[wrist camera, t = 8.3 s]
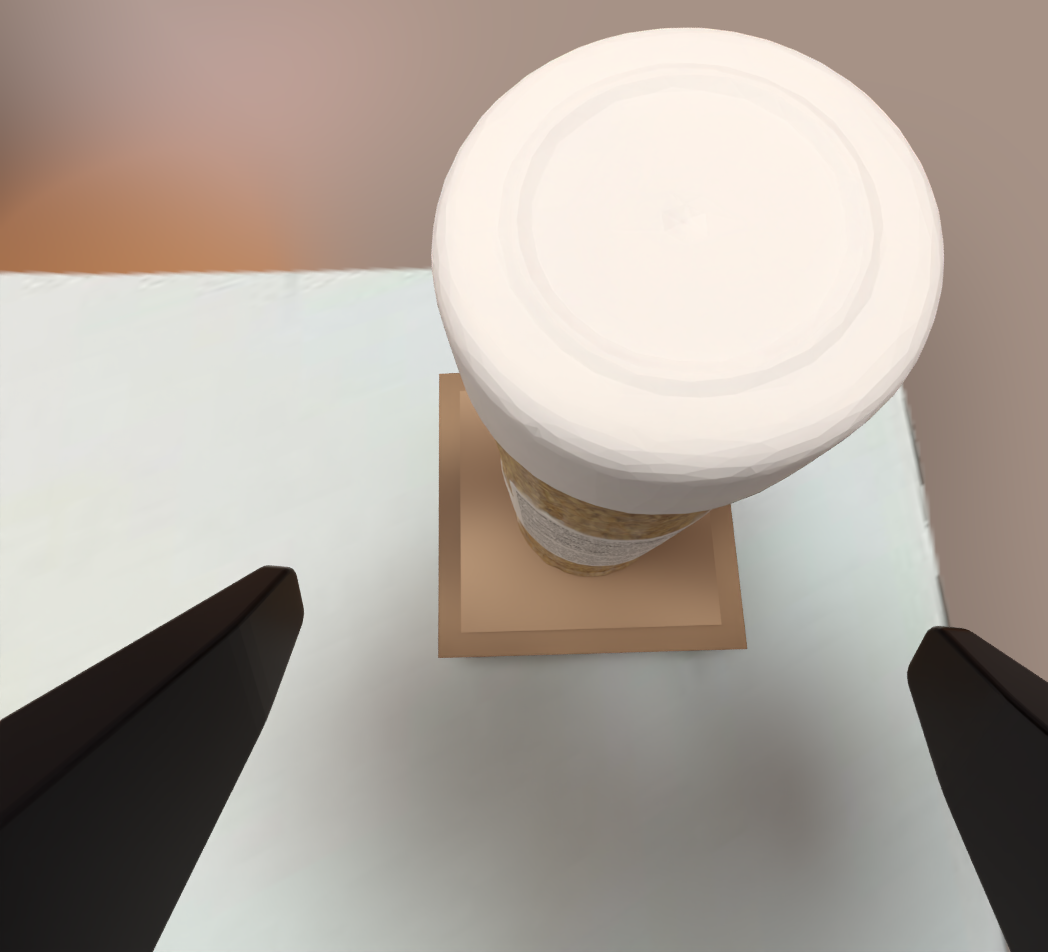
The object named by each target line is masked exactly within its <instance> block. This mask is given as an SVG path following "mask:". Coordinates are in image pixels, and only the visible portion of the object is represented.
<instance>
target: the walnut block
mask: <svg viewBox="0 0 1048 952" xmlns="http://www.w3.org/2000/svg"><path fill="white" fill-rule="evenodd" d="M726 649H747V642H746V634H745V625H744V617H743V608H742V599H741V591H740V582H739V573H738V565H737V556H736V547H735V539H734V530H733V521H732V513H731V504H728V505H726V506H722V507H718V508H714V509H712V510H711V511H709V512H708V513H707V514H706V515H704V516H703V517H702V518H701V519H699V520H698V521H696V522H695V523H693V524H692V525H690V526H688V527H687V528H685V529H684V530H682V531H681V532H679V533H677V534H676V535H674V536H673V537H671V538H670V539H668V540H666V541H665V542H663V543H662V544H660V545H658V546H657V547H655V548H653V549H652V550H650V551H648V552H647V553H645V554H643V555H642V556H641V557H640V558H639V559H638V560H637V561H635V562H634V563H632V564H630V565H629V566H627V567H626V568H624V569H622V570H619V571H616V572H612V573H610V574H607V575H604V576H578V575H573V574H569V573H566V572H563V571H562V570H560V569H558V568H556V567H553V566H551V565H549V564H547V563H546V562H544V561H543V560H542V559H541V557H540V556H539V555H538V554H537V553H536V552H535V551H534V550H533V549H532V548H531V547H530V546H529V544H528V543H527V542H526V540H525V538H524V536H523V534H522V533H521V531H520V528H519V525H518V521H517V518H516V516H515V509H514V507H513V504H512V501H511V498H510V494H509V491H508V489H507V486H506V483H505V479H504V476H503V472H502V466H501V456H500V452H499V449H498V447H497V444H496V442H495V439H494V438H493V436H492V435H491V433H490V432H489V430H488V429H487V428H486V426H485V425H484V423H483V422H482V420H481V419H480V417H479V415H478V414H477V412H476V410H475V408H474V407H473V405H472V403H471V400H470V398H469V396H468V394H467V392H466V389H465V386H464V384H463V381H462V378H461V375H460V373H449V374H439V623H438V658H453V657H487V656H521V655H555V654H589V653H623V652H658V651H692V650H726Z"/></svg>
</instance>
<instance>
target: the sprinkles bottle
mask: <svg viewBox="0 0 1048 952" xmlns="http://www.w3.org/2000/svg"><path fill="white" fill-rule="evenodd" d="M431 257H432V274H433V281H434V288H435V293H436V299H437V305H438V308H439V312H440V315H441V318H442V322H443V325H444V328H445V331H446V335H447V338H448V341H449V344H450V347H451V350H452V353H453V356H454V358H455V361H456V364H457V367H458V370H459V373H460V375H461V378H462V381H463V384H464V386H465V389H466V392H467V394H468V396H469V398H470V400H471V403H472V405H473V407H474V408H475V410H476V412H477V414H478V415H479V417H480V419H481V420H482V422H483V423H484V425H485V426H486V428H487V429H488V430H489V432H490V433H491V435H492V436H493V438H494V439H495V442H496V444H497V447H498V449H499V452H500V456H501V466H502V472H503V476H504V479H505V483H506V486H507V489H508V491H509V494H510V498H511V501H512V504H513V507H514V509H515V516H516V518H517V521H518V525H519V528H520V531H521V533H522V534H523V536H524V538H525V540H526V542H527V543H528V544H529V546H530V547H531V548H532V549H533V550H534V551H535V552H536V553H537V554H538V555H539V556H540V557H541V559H542V560H543V561H544V562H546V563H547V564H549V565H551V566H553V567H556V568H558V569H560V570H562V571H563V572H566V573H569V574H573V575H578V576H604V575H607V574H610V573H612V572H616V571H619V570H622V569H624V568H626V567H627V566H629V565H630V564H632V563H634V562H635V561H637V560H638V559H639V558H640V557H641V556H642V555H643V554H645V553H647V552H648V551H650V550H652V549H653V548H655V547H657V546H658V545H660V544H662V543H663V542H665V541H666V540H668V539H670V538H671V537H673V536H674V535H676V534H677V533H679V532H681V531H682V530H684V529H685V528H687V527H688V526H690V525H692V524H693V523H695V522H696V521H698V520H699V519H701V518H702V517H703V516H704V515H706V514H707V513H708V512H709V511H711V510H712V509H714V508H718V507H722V506H726V505H728V504H731V503H734V502H736V501H739V500H741V499H744V498H747V497H749V496H752V495H754V494H757V493H759V492H761V491H763V490H765V489H767V488H768V487H770V486H772V485H774V484H776V483H778V482H779V481H781V480H783V479H785V478H787V477H788V476H790V475H791V474H793V473H795V472H796V471H798V470H799V469H801V468H803V467H804V466H806V465H807V464H809V463H810V462H812V461H813V460H815V459H816V458H818V457H819V456H821V455H822V454H824V453H825V452H827V451H828V450H830V449H831V448H833V447H834V446H836V445H837V444H839V443H840V442H842V441H843V440H844V439H846V438H847V437H848V436H849V435H851V434H852V433H853V432H855V431H856V430H857V429H858V428H860V427H861V426H862V425H863V424H865V423H866V422H867V421H868V420H869V419H870V418H871V417H872V416H873V415H874V414H875V413H876V412H877V411H878V410H879V409H880V408H881V407H882V406H883V405H884V404H885V403H886V402H887V401H888V400H889V399H890V398H891V397H892V396H893V395H894V394H895V393H896V391H897V390H898V389H899V387H900V386H901V385H902V383H903V382H904V380H905V379H906V377H907V376H908V374H909V373H910V371H911V370H912V368H913V366H914V365H915V363H916V362H917V360H918V358H919V356H920V354H921V351H922V349H923V347H924V345H925V343H926V340H927V338H928V335H929V333H930V330H931V327H932V325H933V322H934V320H935V316H936V312H937V308H938V304H939V299H940V295H941V290H942V283H943V270H944V249H943V236H942V229H941V223H940V216H939V210H938V207H937V204H936V201H935V198H934V195H933V192H932V189H931V186H930V183H929V181H928V178H927V176H926V174H925V171H924V169H923V167H922V164H921V162H920V161H919V159H918V158H917V156H916V154H915V153H914V151H913V150H912V148H911V147H910V145H909V143H908V142H907V140H906V139H905V137H904V136H903V134H902V132H901V131H900V130H899V128H898V127H897V126H896V125H895V124H894V123H893V122H892V121H891V119H890V118H889V117H888V116H887V115H886V114H885V112H884V111H883V110H882V109H881V108H880V107H879V106H878V105H877V104H876V103H875V102H874V101H873V100H872V99H871V98H870V97H869V96H868V95H867V94H866V93H864V92H863V91H862V90H860V89H859V88H858V87H857V86H855V85H854V84H853V83H851V82H850V81H849V80H847V79H846V78H844V77H843V76H841V75H839V74H838V73H836V72H835V71H833V70H832V69H830V68H829V67H827V66H825V65H824V64H822V63H820V62H818V61H816V60H814V59H812V58H810V57H808V56H806V55H804V54H802V53H800V52H798V51H796V50H793V49H790V48H788V47H785V46H782V45H779V44H777V43H775V42H772V41H769V40H766V39H762V38H757V37H753V36H750V35H745V34H741V33H737V32H731V31H722V30H715V29H707V28H663V29H654V30H646V31H640V32H632V33H625V34H621V35H618V36H614V37H610V38H606V39H602V40H599V41H596V42H593V43H591V44H588V45H585V46H582V47H579V48H577V49H575V50H573V51H571V52H568V53H566V54H564V55H562V56H560V57H558V58H556V59H554V60H552V61H550V62H548V63H547V64H545V65H543V66H542V67H540V68H539V69H537V70H535V71H534V72H532V73H531V74H529V75H527V76H526V77H525V78H523V79H522V80H521V81H520V82H519V83H517V84H516V85H515V86H514V87H512V88H511V89H510V90H509V91H507V92H506V93H505V94H504V95H503V96H501V97H500V98H499V99H498V100H497V101H496V102H495V103H494V104H493V105H492V106H491V107H490V108H489V109H488V111H486V113H485V114H484V115H483V116H482V117H481V118H480V120H479V121H478V123H477V124H476V126H475V127H474V128H473V130H472V131H471V133H470V134H469V136H468V137H467V138H466V140H465V141H464V143H463V144H462V146H461V148H460V149H459V151H458V153H457V155H456V157H455V159H454V162H453V164H452V166H451V168H450V170H449V172H448V174H447V177H446V178H445V182H444V185H443V189H442V191H441V195H440V198H439V201H438V205H437V210H436V216H435V220H434V226H433V238H432V252H431Z"/></svg>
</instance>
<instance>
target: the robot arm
mask: <svg viewBox="0 0 1048 952" xmlns="http://www.w3.org/2000/svg"><path fill="white" fill-rule="evenodd" d="M303 617H304V608H303V603H302V598H301V593H300V589H299V584H298V579H297V575H296V572H295V571H294V570H293V569H292V568H290V567H283V566H272V565H268V566H263V567H261V568H259V569H257V570H256V571H254V572H252V573H250V574H249V575H247V576H245V577H244V578H242V579H240V580H238V581H237V582H235V583H233V584H232V585H230V586H228V587H227V588H225V589H223V590H221V591H220V592H218V593H216V594H215V595H213V596H211V597H209V598H208V599H206V600H204V601H203V602H201V603H199V604H198V605H196V606H194V607H192V608H191V609H189V610H187V611H186V612H184V613H182V614H181V615H179V616H177V617H175V618H174V619H172V620H170V621H169V622H167V623H165V624H163V625H162V626H160V627H158V628H157V629H155V630H153V631H152V632H150V633H148V634H146V635H145V636H143V637H141V638H140V639H138V640H136V641H134V642H133V643H131V644H129V645H128V646H126V647H124V648H123V649H121V650H119V651H117V652H116V653H114V654H112V655H111V656H109V657H107V658H105V659H104V660H102V661H100V662H99V663H97V664H95V665H94V666H92V667H90V668H88V669H87V670H85V671H83V672H82V673H80V674H78V675H76V676H75V677H73V678H71V679H70V680H68V681H66V682H64V683H63V684H61V685H59V686H58V687H56V688H54V689H53V690H51V691H49V692H47V693H46V694H44V695H42V696H41V697H39V698H37V699H35V700H34V701H32V702H30V703H29V704H27V705H25V706H23V707H22V708H20V709H18V710H17V711H15V712H13V713H12V714H10V715H8V716H6V717H5V718H3V719H2V720H0V952H153V950H154V948H155V946H156V944H157V942H158V940H159V938H160V936H161V934H162V932H163V930H164V928H165V926H166V924H167V922H168V920H169V918H170V916H171V914H172V912H173V910H174V908H175V906H176V904H177V902H178V900H179V898H180V896H181V894H182V892H183V889H184V887H185V885H186V883H187V881H188V879H189V877H190V875H191V873H192V871H193V869H194V867H195V865H196V863H197V861H198V859H199V857H200V855H201V853H202V851H203V849H204V847H205V845H206V843H207V841H208V839H209V837H210V835H211V833H212V831H213V829H214V827H215V825H216V823H217V820H218V818H219V816H220V814H221V812H222V810H223V808H224V806H225V804H226V802H227V800H228V798H229V796H230V794H231V792H232V790H233V788H234V786H235V784H236V782H237V780H238V778H239V776H240V774H241V772H242V770H243V768H244V766H245V764H246V762H247V760H248V758H249V756H250V754H251V752H252V749H253V747H254V745H255V743H256V741H257V739H258V737H259V735H260V733H261V731H262V729H263V727H264V724H265V722H266V720H267V718H268V715H269V713H270V710H271V708H272V705H273V702H274V700H275V697H276V694H277V692H278V689H279V686H280V683H281V681H282V678H283V675H284V672H285V670H286V667H287V664H288V662H289V659H290V656H291V653H292V651H293V648H294V645H295V642H296V640H297V637H298V634H299V631H300V629H301V626H302V623H303ZM907 679H908V685H909V688H910V692H911V695H912V698H913V701H914V704H915V707H916V711H917V714H918V717H919V720H920V723H921V727H922V730H923V733H924V736H925V739H926V742H927V746H928V749H929V752H930V755H931V758H932V762H933V765H934V768H935V771H936V774H937V777H938V780H939V783H940V786H941V789H942V791H943V794H944V797H945V799H946V802H947V804H948V807H949V809H950V812H951V814H952V816H953V819H954V821H955V823H956V826H957V828H958V830H959V833H960V835H961V837H962V840H963V842H964V844H965V847H966V849H967V851H968V854H969V856H970V858H971V861H972V863H973V865H974V868H975V870H976V872H977V875H978V877H979V879H980V882H981V884H982V886H983V889H984V891H985V893H986V896H987V898H988V900H989V902H990V905H991V907H992V909H993V912H994V914H995V916H996V919H997V921H998V923H999V926H1000V928H1001V930H1002V933H1003V935H1004V937H1005V940H1006V942H1007V944H1008V947H1009V949H1010V951H1011V952H1048V682H1046V681H1045V680H1043V679H1042V678H1040V677H1039V676H1037V675H1036V674H1034V673H1033V672H1031V671H1030V670H1028V669H1027V668H1025V667H1024V666H1022V665H1021V664H1019V663H1018V662H1016V661H1015V660H1013V659H1012V658H1010V657H1009V656H1007V655H1006V654H1004V653H1003V652H1001V651H999V650H998V649H997V648H995V647H994V646H992V645H991V644H989V643H988V642H986V641H985V640H983V639H982V638H980V637H979V636H977V635H976V634H974V633H973V632H971V631H969V630H967V629H962V628H955V627H944V626H935V627H932V628H931V629H929V630H928V631H927V633H926V634H925V636H924V638H923V640H922V642H921V644H920V646H919V647H918V649H917V651H916V653H915V655H914V657H913V659H912V661H911V662H910V664H909V667H908V672H907Z"/></svg>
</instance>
